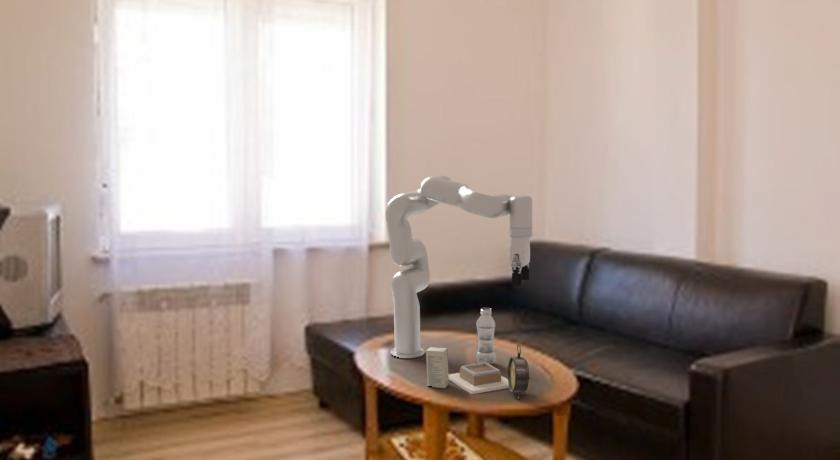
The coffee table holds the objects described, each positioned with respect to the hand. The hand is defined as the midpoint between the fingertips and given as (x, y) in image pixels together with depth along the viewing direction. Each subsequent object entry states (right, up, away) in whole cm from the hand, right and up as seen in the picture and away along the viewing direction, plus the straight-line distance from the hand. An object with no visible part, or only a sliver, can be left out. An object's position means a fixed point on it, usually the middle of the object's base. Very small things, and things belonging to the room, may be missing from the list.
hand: (520, 282), depth 254 cm
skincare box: (-28, -33, -11) cm, 45 cm away
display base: (-14, -32, -9) cm, 36 cm away
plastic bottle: (-11, -30, +10) cm, 33 cm away
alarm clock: (-3, -34, -21) cm, 40 cm away
